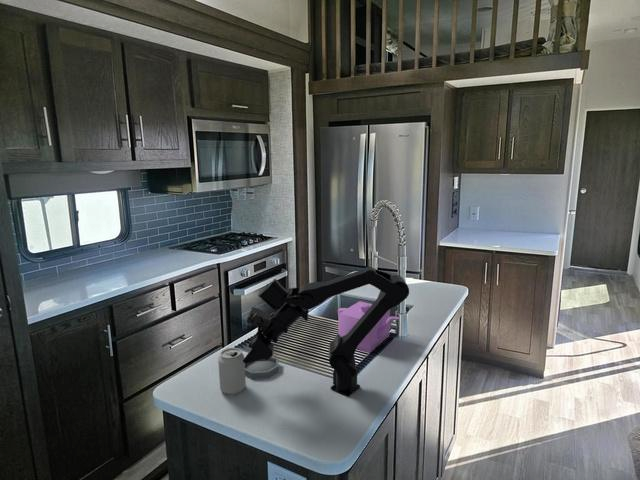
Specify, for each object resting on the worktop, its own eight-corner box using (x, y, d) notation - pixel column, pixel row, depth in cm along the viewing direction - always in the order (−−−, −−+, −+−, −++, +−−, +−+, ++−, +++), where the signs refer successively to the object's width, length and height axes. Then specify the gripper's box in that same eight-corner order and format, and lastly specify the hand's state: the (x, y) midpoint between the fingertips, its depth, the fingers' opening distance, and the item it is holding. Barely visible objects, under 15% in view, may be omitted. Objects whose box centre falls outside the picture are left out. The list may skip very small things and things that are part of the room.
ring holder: (286, 367, 138) (285, 361, 137) (259, 382, 129) (259, 376, 128) (261, 356, 145) (261, 351, 144) (235, 370, 136) (234, 364, 136)
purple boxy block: (388, 359, 143) (389, 320, 140) (327, 340, 157) (327, 304, 154) (407, 342, 155) (408, 306, 152) (348, 326, 169) (348, 292, 166)
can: (240, 397, 121) (238, 359, 119) (215, 394, 123) (213, 357, 120) (249, 383, 129) (247, 347, 126) (226, 380, 130) (224, 345, 127)
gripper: (267, 289, 129) (232, 323, 131) (258, 312, 111) (218, 351, 113) (293, 313, 130) (259, 346, 133) (289, 340, 112) (249, 378, 115)
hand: (246, 354), depth 123 cm, fingers open, 9 cm apart
